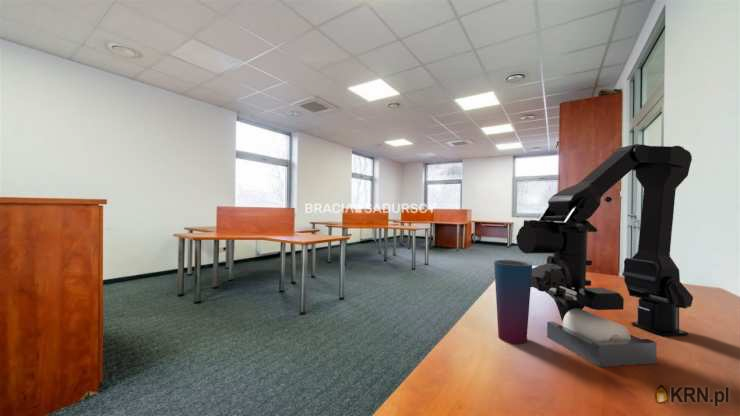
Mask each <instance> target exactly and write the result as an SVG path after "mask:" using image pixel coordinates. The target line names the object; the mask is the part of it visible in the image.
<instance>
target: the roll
mask: <svg viewBox="0 0 740 416" xmlns="http://www.w3.org/2000/svg"><path fill="white" fill-rule="evenodd" d="M562 326H563V327H565V328H567V329H569V330H571V331H574V332H576V333H578V334H580V335H582V336H584V337H586V338H588V339H590V340H592V341H610V338H625V339H626V340H631V338H630V335H631V334H630V332H629V330H628V329H627V327H625V326H624V325H622V324H620V323H617V322H614V321H612V320H610V319H607V318H605V317H602V316H600V315H598V314H597V315H596V313H595V314H594V313H592V312H590V311H587V310H585V309H579V308H574V309H571V310H570V311H568V312H567V313H566V315H565V316H564V319H563V322H562Z"/></svg>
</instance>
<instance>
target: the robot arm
mask: <svg viewBox="0 0 740 416" xmlns="http://www.w3.org/2000/svg"><path fill="white" fill-rule="evenodd" d="M691 153H692V152H690V151H689V150H687V149H685V148H684V146H681V145H673V146H665V145H660V146H659V145H647V144H639V143H636V144H635V143H634V144H631V145H630V144H629V145H626V146H621V147H618V148H616V149H615V150H613V151H612V154H611V155H610V156H609V157H608V158H607V159H605V160H604V161H602V162H601V163H600V164H599V165H598V166H597V167H596V168H595V169H593V170H592V171H591V172H590V173H588V174H587V175H586V177H584V178H583V179H582V180H581V181H579V182H577V183H576V184H574V185H571V186H569V187H567V188H564V189H561V190H560V191H558V192H556V193H555V194H553V195H552V196H551V197H550V198H549V199H548V200H547V204H548V205H547V206H546V207H545V208H544V210H543V212H542V213H541V214H540V216H539V217H538V219H537V220H536V219H524V220H523V225H522V226H520V228H519V229H518V232H517V235H516V238H515V240H516V244H517V247H518V249H519V250H520V251H521V253H523V254H528V255H529V254H530V255H531V254H537V255H539V254H543V255H544V254H552V255H547V257H546V263H545V264H544V263H543V264H540V265H537V266H536V267H535V266H534V267H532V276H531V288H534V289H535V290H537V291H539V292H545V294H548V296H550V297H551V298H552V299H553V300H554V302H555V304H556V307H557V310H558V313H559V316H560V319H561V322H562V323H563V319H564V316H565V315H566V313H567V312H568V311H570V310H571V309H574V308H579V309H582V310H584V308H585V307H586V308H589V309H591V310H596V311H612V310H614V311H617V310H619V311H620V310H622V311H623V310H624V305H625V301H624V297H623V296H622V294H620V292H617V291H614V290H611V289H607V288H604V287H591V286H592V280H590V279H587V266H593V260H592V259H587V257H588V256H587V255H588V254H587V253H588V236H589V235H588V233H596V232H598V228H597V227H596V226H594V225H593V224H592V223H591V222H590V221H589V219H591V218H592V216H593V215H594V214H595V213H596V212H597V210H598V209H599V207H601V200H602V199H601V198H602V197H603V196H604V194H606V193H607V192H608V191H609V190H611V189H612V188H613V187H614V186H615V185H616V184H617V183H618V182H619V181H621V180H622V179H623V178H624V177H625V176H626V175H627V174H628V173H630V172H631V171H633V172H635V178H636V180H637V181H638V182H639V184H640V185H641V187H642V188H643V194H642V202H641V211H640V212H641V213H640V223H639V236H638V243H637V244H638V245H637V252H636V253H635V254H634V255H633V256H632V257H631V258H629V257H625V259H624V261H623V271H622V274H621V276H623V280H624V284H625V285H626V289H627V291H628V296H630V297H631V298H632V297H635V298H638V306H637V321H630V324H631V325H632V326H635V327H638V328H640V329H643V330H646V331H649V332H652V333H654V334H657V335H660V336H665V337H668V336H669V337H670V336H688V335H689V332H688V331H686V330H682V329H680V309H688V308H690V307H692V304H693V300H694V296H693V295H692V294H691V292H690V291H689V290H688V289H687V288H686V287H685V285H683V283H682V282H681V279H680V278H681V277H680V269H679V267H678V266H677V265H676V263H675V261H674V260H673V259H672V257H671V246H672V245H671V243H672V236H673V235H672V233H673V223H674V211H675V200H676V191H677V189H678V187H680V185H681V184H682V183H683V182H684V181H685V179H686V178H687V177H688V176H689V172H690V167H691V164H692V161H693V156H692V154H691Z"/></svg>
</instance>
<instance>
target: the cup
mask: <svg viewBox="0 0 740 416" xmlns="http://www.w3.org/2000/svg"><path fill="white" fill-rule="evenodd" d="M493 267H494V280H495V282H494V285H495V297H496V299H495V300H496V315H497V316H496V317H497V331H498V333H497V335H498V338H499V339H500V340H501V341H504V342H506V343H509V344H513V345H523V344H526V343H527V342H528V341H527V340H528V331H529V330H528V327H529V315H530V314H529V313H530V301H531V289H532V287H531V276H532V268H533V263H532V262H528V261H523V260H513V259H497V260H494V261H493Z"/></svg>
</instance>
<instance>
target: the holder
mask: <svg viewBox="0 0 740 416" xmlns="http://www.w3.org/2000/svg"><path fill="white" fill-rule="evenodd" d="M546 330H547V331H546V334H547V335H546V337H547V338H549V340H551V341H554V342H555V343H557V344H558V345H561V346H563V347H564V348H566V349H567V350H569V351H571V352H572V353H574V354H575V355H578V356H579V357H581V358H583V359H584V360H586V361H588V362H590V363H591V364H594V365H596V367H599V368H605V367H620V366H619V365H624V366H638V365H637V364H641V365H654V364H655V365H656V364H658V363H657V362H658V361H657V359H658V358H657V356H658V355H657V353H658V351H657V347H658V346H657V343H658V342H656V341H654V340H652V339H649V338H640V337H637V336H634V335H632V334H630V338H631V340H626V339H625V338H610V341H592V340H590V339H588V338H586V337H584V336H582V335H580V334H578V333H576V332H574V331H571V330H569V329H567V328H565V327H563V325H561V324H560V323H557V322H555V321H547V322H546ZM635 364H636V365H635Z"/></svg>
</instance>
